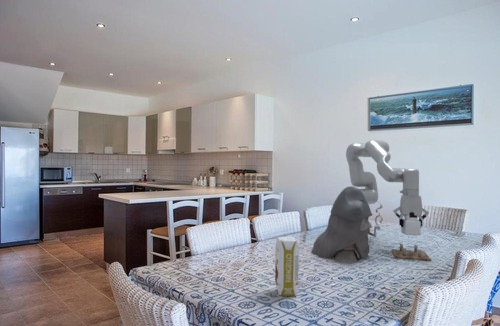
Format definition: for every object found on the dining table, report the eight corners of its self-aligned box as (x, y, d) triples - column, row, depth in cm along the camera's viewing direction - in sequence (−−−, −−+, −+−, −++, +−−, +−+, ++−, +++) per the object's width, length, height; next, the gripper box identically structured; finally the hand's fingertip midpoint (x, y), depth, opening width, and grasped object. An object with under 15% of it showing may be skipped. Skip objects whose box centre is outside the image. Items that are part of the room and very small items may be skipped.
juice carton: (294, 288, 124) (295, 236, 124) (299, 297, 116) (299, 241, 116) (274, 288, 124) (275, 236, 124) (277, 297, 115) (277, 241, 116)
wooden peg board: (395, 258, 168) (395, 249, 168) (391, 250, 183) (391, 242, 183) (431, 261, 163) (431, 252, 163) (424, 253, 179) (424, 244, 179)
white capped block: (415, 232, 176) (415, 209, 177) (420, 235, 169) (420, 211, 169) (401, 232, 177) (401, 209, 177) (405, 235, 170) (406, 211, 170)
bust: (386, 266, 154) (387, 189, 155) (310, 261, 161) (311, 187, 161) (373, 248, 187) (374, 185, 188) (311, 245, 194) (312, 184, 194)
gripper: (393, 192, 172) (393, 227, 172) (431, 193, 168) (431, 229, 167) (391, 191, 180) (391, 225, 179) (428, 193, 175) (427, 227, 174)
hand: (410, 227), depth 173 cm, fingers closed on white capped block, 7 cm apart
